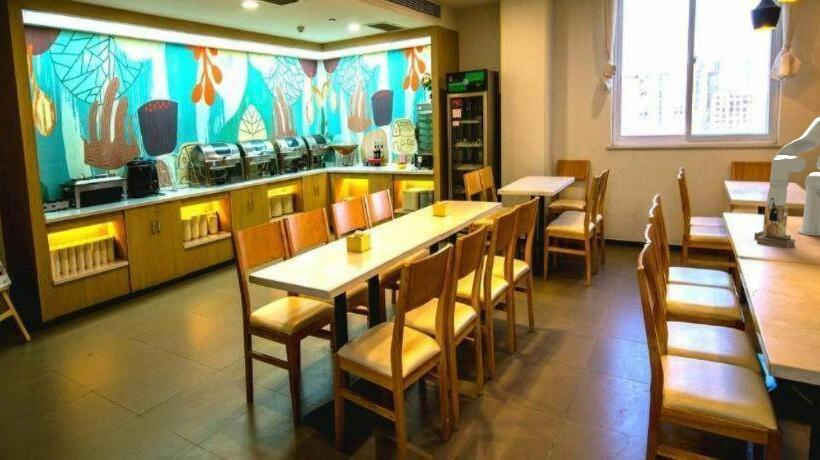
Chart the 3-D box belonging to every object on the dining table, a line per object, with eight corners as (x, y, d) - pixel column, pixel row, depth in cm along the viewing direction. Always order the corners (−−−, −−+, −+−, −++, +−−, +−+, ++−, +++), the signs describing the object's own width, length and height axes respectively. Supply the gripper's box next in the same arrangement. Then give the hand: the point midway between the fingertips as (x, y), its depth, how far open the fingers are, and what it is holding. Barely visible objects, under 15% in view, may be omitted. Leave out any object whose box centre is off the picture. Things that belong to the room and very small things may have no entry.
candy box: (785, 236, 272) (788, 206, 269) (781, 238, 270) (784, 207, 267) (766, 233, 280) (769, 204, 276) (762, 235, 277) (764, 205, 274)
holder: (762, 236, 282) (762, 230, 282) (801, 243, 268) (802, 237, 267) (746, 241, 274) (746, 235, 273) (786, 248, 259) (787, 242, 258)
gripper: (778, 180, 276) (775, 216, 281) (762, 184, 268) (758, 221, 272) (795, 181, 270) (791, 218, 274) (779, 186, 261) (775, 223, 266)
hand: (775, 219), depth 273 cm, fingers closed on candy box, 4 cm apart
